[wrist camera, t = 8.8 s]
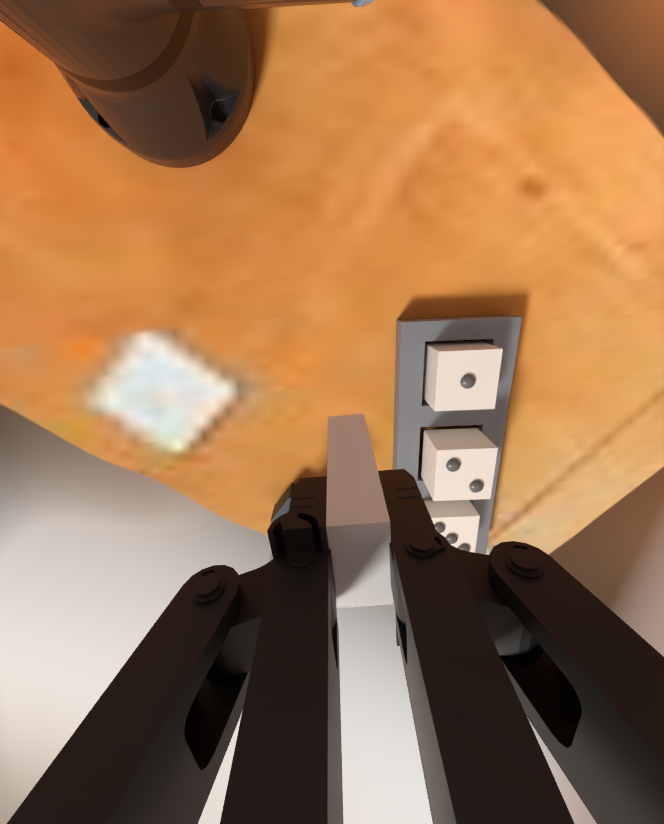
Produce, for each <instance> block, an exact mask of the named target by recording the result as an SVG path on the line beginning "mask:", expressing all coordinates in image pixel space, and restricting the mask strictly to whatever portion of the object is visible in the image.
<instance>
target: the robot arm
mask: <svg viewBox="0 0 664 824" xmlns="http://www.w3.org/2000/svg"><path fill="white" fill-rule="evenodd" d="M373 1H374V0H0V21H2V22H3V23H4V24H5V25H7V26H8V27H9V28H10V29H12V30H13V31H14V32H16V33H17V34H18V35H19V36H21V37H22V38H23V39H24V40H26V41H27V42H28V43H29V44H31V45H32V46H33V47H35V48H36V49H37V50H38V51H40V52H41V53H42V54H43V55H45V56H46V57H47V58H49V59H50V60H51V61H52V62H54V63H55V65H56V66H57V68H58V69H59V71H60V72H61V74H62V75H63V77H64V78H65V80H66V81H67V83H68V84H69V86H70V87H71V89H72V91H73V92H74V94H75V95H76V97H77V98H78V100H79V101H80V103H81V104H82V105H83V107H84V108H85V110H86V111H87V112H88V113H89V115H90V116H91V117H92V118H93V119H94V121H95V122H96V123H97V124H98V125H99V126H100V127H101V128H102V129H103V130H104V131H105V132H106V133H107V134H108V135H110V136H111V137H112V138H113V139H114V140H116V141H117V142H119V143H120V144H121V145H123V146H124V147H126V148H127V149H129V150H130V151H131V152H133V153H135V154H136V155H138V156H139V157H141V158H143V159H145V160H147V161H150V162H152V163H155V164H158V165H162V166H167V167H175V168H184V167H192V166H196V165H200V164H202V163H205V162H207V161H209V160H211V159H213V158H214V157H216V156H218V155H219V154H220V153H222V152H223V151H224V150H225V149H226V148H227V147H228V146H229V145H230V144H231V143H232V141H233V140H234V139H235V137H236V136H237V134H238V133H239V131H240V130H241V128H242V126H243V124H244V122H245V120H246V117H247V114H248V112H249V108H250V105H251V101H252V96H253V91H254V82H255V57H254V48H253V42H252V37H251V32H250V28H249V25H248V22H247V18H246V15H245V12H244V9H252V8H268V7H284V6H300V5H316V4H332V3H348V2H352V4H353V5H354V6H355V7H363V6H366V5H368V4H370V3H371V2H373ZM267 532H268V537H269V541H270V546H271V550H272V555H273V559H272V560H271V561H270V562H268V563H267V564H266V565H264V566H262V567H260V568H257V569H255V570H252V571H249V572H246V573H244V574H241V575H238V573H237V572H236V571H235V570H234V569H233V568H231V567H228V566H226V565H216V566H211V567H208V568H205V569H202V570H201V571H199V572H198V573H196V574H194V575H193V576H192V577H191V578H190V579H189V580H188V581H187V582H186V583H185V584H184V585H183V586H182V587H181V589H180V590H179V591H178V593H177V594H176V595H175V597H174V598H173V600H172V601H171V602H170V604H169V605H168V606H167V608H166V609H165V610H164V612H163V613H162V615H161V616H160V617H159V619H158V620H157V621H156V623H155V624H154V625H153V627H152V628H151V629H150V631H149V632H148V633H147V635H146V636H145V637H144V639H143V640H142V642H141V643H140V644H139V646H138V647H137V648H136V650H135V651H134V652H133V654H132V655H131V656H130V658H129V659H128V661H127V662H126V663H125V665H124V666H123V667H122V669H121V670H120V671H119V673H118V674H117V675H116V677H115V678H114V679H113V681H112V682H111V684H110V685H109V686H108V688H107V689H106V690H105V692H104V693H103V694H102V696H101V697H100V699H99V700H98V701H97V702H96V704H95V705H94V707H93V708H92V709H91V711H90V712H89V713H88V715H87V716H86V717H85V719H84V720H83V721H82V723H81V724H80V725H79V727H78V728H77V730H76V731H75V732H74V734H73V735H72V736H71V738H70V739H69V740H68V742H67V743H66V744H65V746H64V747H63V748H62V750H61V751H60V753H59V754H58V755H57V757H56V758H55V759H54V761H53V762H52V763H51V765H50V766H49V767H48V769H47V770H46V772H45V773H44V774H43V776H42V777H41V778H40V780H39V781H38V782H37V784H36V785H35V787H34V788H33V789H32V790H31V792H30V793H29V794H28V796H27V797H26V799H25V800H24V801H23V803H22V804H21V806H20V807H19V808H18V809H17V811H16V812H15V814H14V815H13V816H12V818H11V819H10V820H9V822H8V823H7V824H198V821H199V819H200V816H201V814H202V811H203V809H204V806H205V804H206V801H207V799H208V796H209V794H210V791H211V789H212V786H213V783H214V781H215V779H216V776H217V773H218V771H219V768H220V766H221V763H222V761H223V758H224V756H225V753H226V751H227V748H228V746H229V743H230V741H231V738H232V735H233V733H234V730H235V728H236V725H237V723H238V720H239V718H240V715H241V713H242V717H241V722H240V727H239V731H238V736H237V742H236V747H235V751H234V756H233V761H232V767H231V771H230V777H229V781H228V786H227V791H226V796H225V801H224V806H223V811H222V817H221V822H220V824H343V793H342V756H341V755H342V754H341V717H340V715H341V714H340V678H339V636H338V623H337V613H336V607H337V608H344V607H357V606H358V607H359V606H373V605H386V604H393V599H394V604H395V609H396V636H397V646H399V645H400V648H401V654H402V659H403V664H404V670H405V676H406V680H407V686H408V692H409V697H410V702H411V707H412V713H413V718H414V724H415V729H416V735H417V740H418V745H419V751H420V756H421V761H422V767H423V772H424V778H425V783H426V789H427V793H428V799H429V804H430V810H431V815H432V821H433V824H574V822H573V819H572V817H571V815H570V813H569V811H568V808H567V806H566V804H565V801H564V799H563V797H562V795H561V792H560V790H559V788H558V786H557V783H556V781H555V779H554V777H553V775H552V772H551V770H550V768H549V766H548V763H547V761H546V759H545V756H544V754H543V752H542V750H541V747H540V745H539V743H538V741H537V739H536V736H535V734H534V732H533V730H532V728H531V725H530V723H529V720H530V722H531V723H532V725H533V726H534V728H535V729H536V731H537V733H538V734H539V735H540V737H541V739H542V740H543V742H544V743H545V745H546V746H547V748H548V749H549V751H550V752H551V754H552V755H553V757H554V758H555V760H556V762H557V763H558V765H559V766H560V768H561V769H562V771H563V772H564V774H565V775H566V777H567V778H568V780H569V781H570V783H571V784H572V786H573V787H574V789H575V790H576V792H577V794H578V795H579V797H580V798H581V800H582V801H583V803H584V804H585V806H586V807H587V809H588V810H589V812H590V813H591V815H592V817H593V818H594V820H595V821H596V823H597V824H664V657H663V656H662V655H661V654H660V653H659V652H657V651H656V650H655V649H654V648H653V647H652V646H651V645H649V644H648V643H647V642H646V641H645V640H644V639H643V638H642V637H641V636H639V635H638V634H637V633H636V632H635V631H634V630H633V629H632V628H630V627H629V626H628V625H627V624H626V623H625V622H624V621H623V620H621V619H620V618H619V617H618V616H617V615H616V614H615V613H614V612H612V611H611V610H610V609H609V608H608V607H607V606H606V605H604V604H603V603H602V602H601V601H600V600H599V599H598V598H597V597H596V596H594V595H593V594H592V593H591V592H590V591H589V590H588V589H586V588H585V587H584V586H583V585H582V584H581V583H580V582H579V581H577V580H576V579H575V578H574V577H573V576H572V575H571V574H570V573H568V572H567V571H566V570H565V569H564V568H563V567H562V566H560V565H559V564H558V563H557V562H556V561H555V560H554V559H553V558H551V557H550V556H549V555H548V554H546V553H545V552H543V551H542V550H540V549H539V548H536V547H534V546H531V545H529V544H526V543H521V542H515V541H510V542H502V543H500V544H498V545H496V546H494V547H493V549H492V551H491V552H490V555H486V554H480V553H474V552H469V551H465V550H461V549H459V548H456V547H454V546H452V545H450V543H449V542H448V541H447V539H446V538H445V537H444V536H443V535H441V534H440V533H438V532H437V530H436V528H435V526H434V524H433V521H432V519H431V516H430V514H429V512H428V509H427V507H426V505H425V502H424V500H423V498H422V495H421V493H420V490H419V489H418V485H417V483H416V481H415V478H414V477H413V476H412V475H411V474H410V473H409V472H407V471H406V470H405V469H396V470H384V471H378V470H377V466H376V462H375V458H374V453H373V449H372V445H371V441H370V437H369V433H368V429H367V425H366V421H365V417H364V414H356V415H345V416H334V417H328V448H327V476H325V477H314V478H302V479H300V480H299V481H298V482H297V483H296V485H295V486H294V487H293V489H292V495H291V501H290V506H289V512H287V513H285V514H283V515H281V516H279V517H278V518H277V519H275V520H274V521H273V522H272V523H271V525H270V527H269V529H268V531H267ZM242 710H243V712H242ZM527 717H528V718H527ZM528 719H529V720H528Z"/></svg>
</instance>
